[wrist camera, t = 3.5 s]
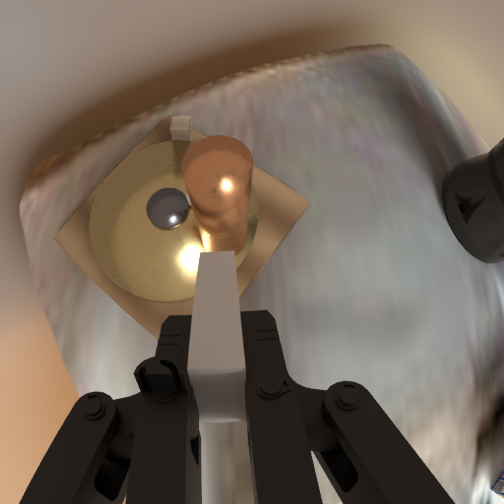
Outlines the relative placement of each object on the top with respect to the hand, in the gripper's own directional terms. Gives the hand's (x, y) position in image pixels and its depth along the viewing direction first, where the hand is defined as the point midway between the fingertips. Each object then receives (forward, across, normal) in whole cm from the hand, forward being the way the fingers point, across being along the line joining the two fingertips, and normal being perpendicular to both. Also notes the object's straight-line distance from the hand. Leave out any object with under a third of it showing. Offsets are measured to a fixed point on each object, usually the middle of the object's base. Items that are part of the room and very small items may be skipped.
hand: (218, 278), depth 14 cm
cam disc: (+17, +5, +3) cm, 18 cm away
